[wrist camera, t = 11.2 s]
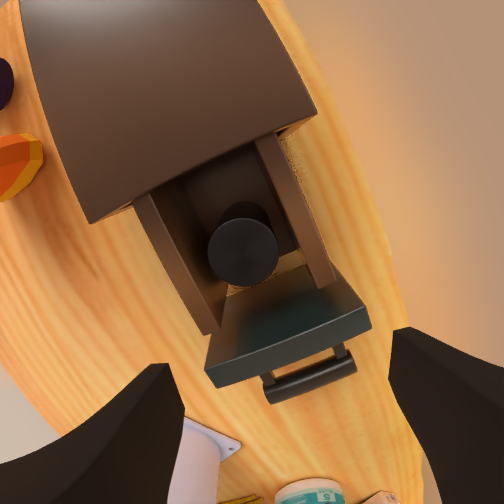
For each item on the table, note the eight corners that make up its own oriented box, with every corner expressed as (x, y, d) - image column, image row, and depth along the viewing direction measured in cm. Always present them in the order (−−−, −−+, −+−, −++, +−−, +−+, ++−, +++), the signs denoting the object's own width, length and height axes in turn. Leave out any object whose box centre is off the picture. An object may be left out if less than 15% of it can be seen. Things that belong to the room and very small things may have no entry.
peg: (251, 259, 16) (251, 299, 12) (210, 232, 16) (193, 261, 11) (280, 220, 16) (293, 245, 11) (239, 191, 15) (234, 203, 11)
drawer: (352, 328, 19) (390, 395, 12) (255, 367, 20) (257, 444, 13) (244, 72, 15) (241, 18, 8) (133, 127, 15) (70, 111, 9)
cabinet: (286, 137, 17) (319, 113, 8) (158, 197, 17) (88, 226, 9) (195, -30, 13) (169, -112, 5) (87, 26, 14) (15, -23, 6)
